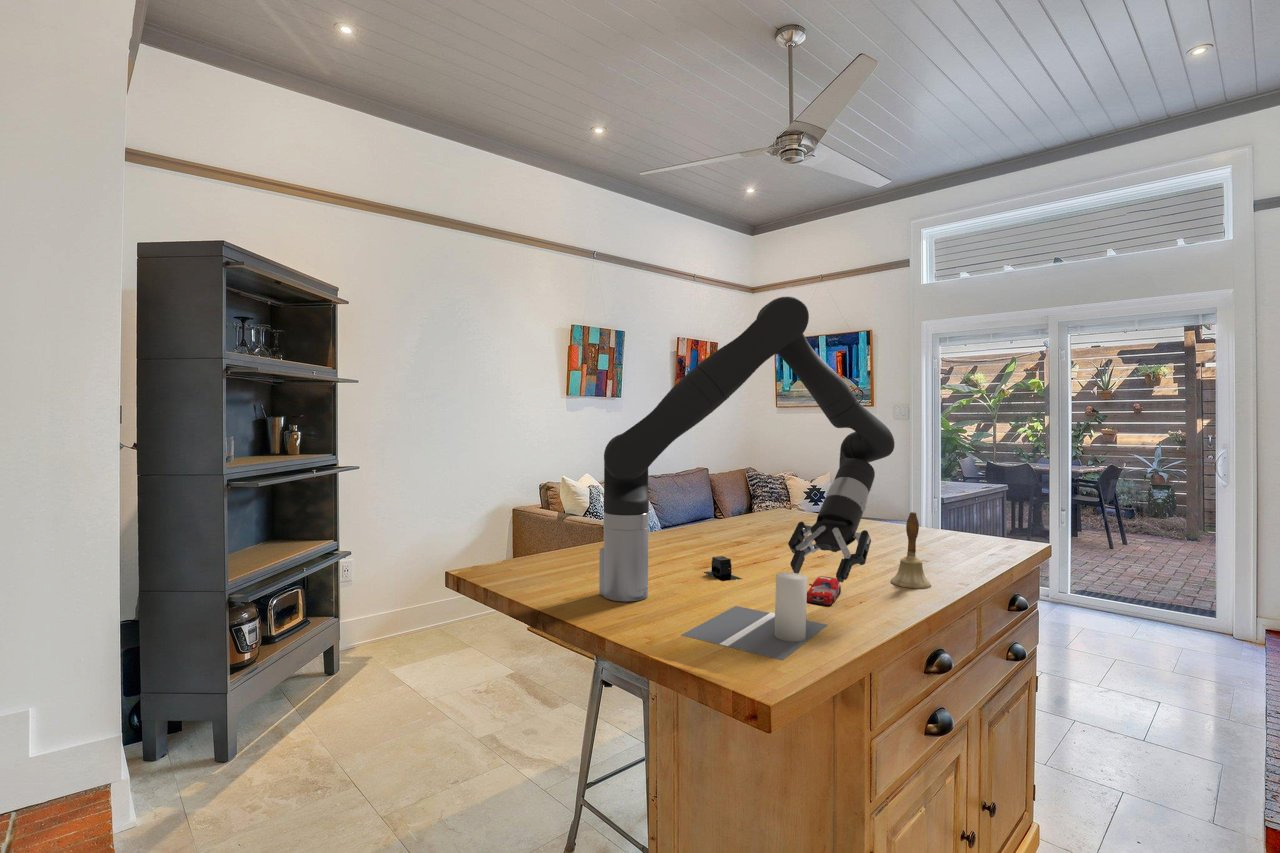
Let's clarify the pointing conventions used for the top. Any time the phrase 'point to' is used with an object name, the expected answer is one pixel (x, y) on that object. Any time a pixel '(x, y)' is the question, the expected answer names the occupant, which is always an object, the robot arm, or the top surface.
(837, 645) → the top surface
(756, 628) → the gray striped mat
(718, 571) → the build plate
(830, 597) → the race car
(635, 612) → the top surface
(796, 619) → the white cylinder
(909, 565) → the hand bell
